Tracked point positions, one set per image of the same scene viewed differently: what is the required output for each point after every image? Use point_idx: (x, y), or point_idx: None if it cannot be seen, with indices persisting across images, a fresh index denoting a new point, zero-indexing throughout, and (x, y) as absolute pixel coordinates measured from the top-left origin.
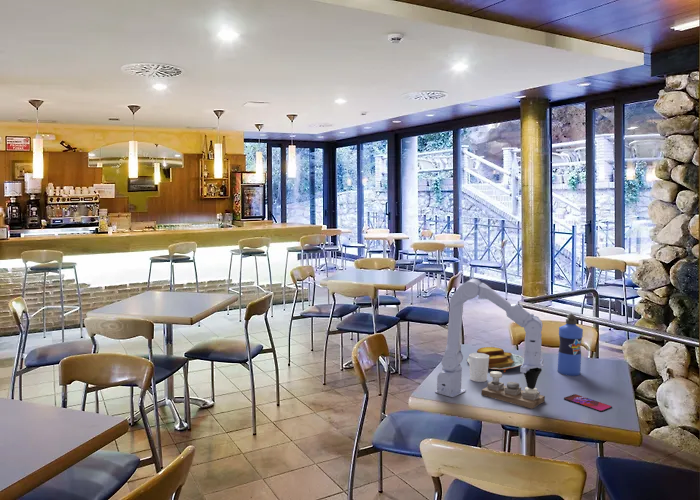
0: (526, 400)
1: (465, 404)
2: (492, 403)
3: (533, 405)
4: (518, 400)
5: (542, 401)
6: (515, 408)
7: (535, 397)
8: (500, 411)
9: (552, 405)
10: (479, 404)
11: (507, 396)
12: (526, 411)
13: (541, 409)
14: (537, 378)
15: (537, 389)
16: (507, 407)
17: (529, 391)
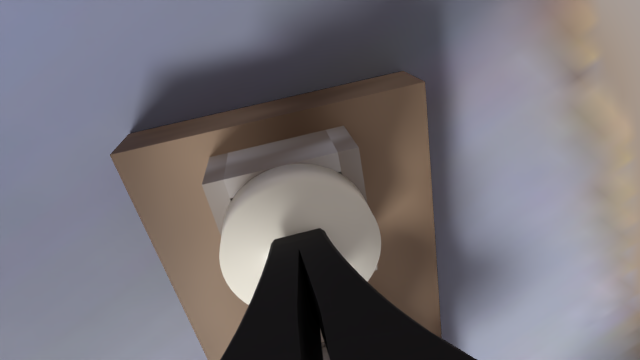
0: (399, 168)
1: (631, 341)
2: (518, 293)
3: (392, 80)
4: (430, 214)
5: (178, 125)
6: (497, 157)
7: (313, 142)
8: (623, 174)
9: (139, 8)
10: (585, 313)
11: (438, 302)
12: (497, 61)
13: (345, 6)
14: (232, 342)
15: (247, 204)
16: (518, 201)
17: (372, 219)
